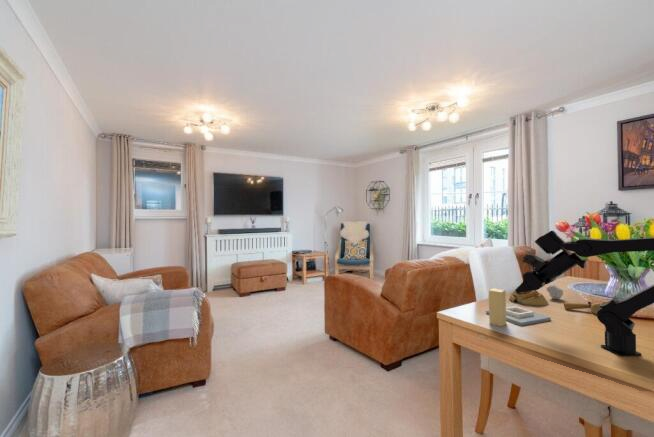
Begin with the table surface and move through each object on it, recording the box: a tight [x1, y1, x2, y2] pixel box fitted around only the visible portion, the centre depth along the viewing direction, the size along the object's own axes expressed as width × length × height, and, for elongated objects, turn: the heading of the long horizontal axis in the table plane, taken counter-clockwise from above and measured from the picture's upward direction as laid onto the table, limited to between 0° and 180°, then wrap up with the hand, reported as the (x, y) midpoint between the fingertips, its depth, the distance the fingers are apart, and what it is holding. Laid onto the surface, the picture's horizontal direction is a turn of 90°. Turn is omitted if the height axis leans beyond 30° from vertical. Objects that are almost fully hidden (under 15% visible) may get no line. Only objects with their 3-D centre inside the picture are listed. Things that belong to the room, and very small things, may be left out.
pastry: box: [508, 285, 549, 307], centre depth 143 cm, size 13×15×8 cm
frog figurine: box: [545, 284, 564, 300], centre depth 146 cm, size 6×7×7 cm
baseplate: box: [485, 306, 552, 327], centre depth 122 cm, size 16×16×3 cm
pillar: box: [488, 288, 507, 327], centre depth 115 cm, size 4×4×13 cm
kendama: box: [563, 300, 601, 315], centre depth 126 cm, size 8×6×18 cm
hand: (520, 289), depth 110 cm, fingers open, 9 cm apart
